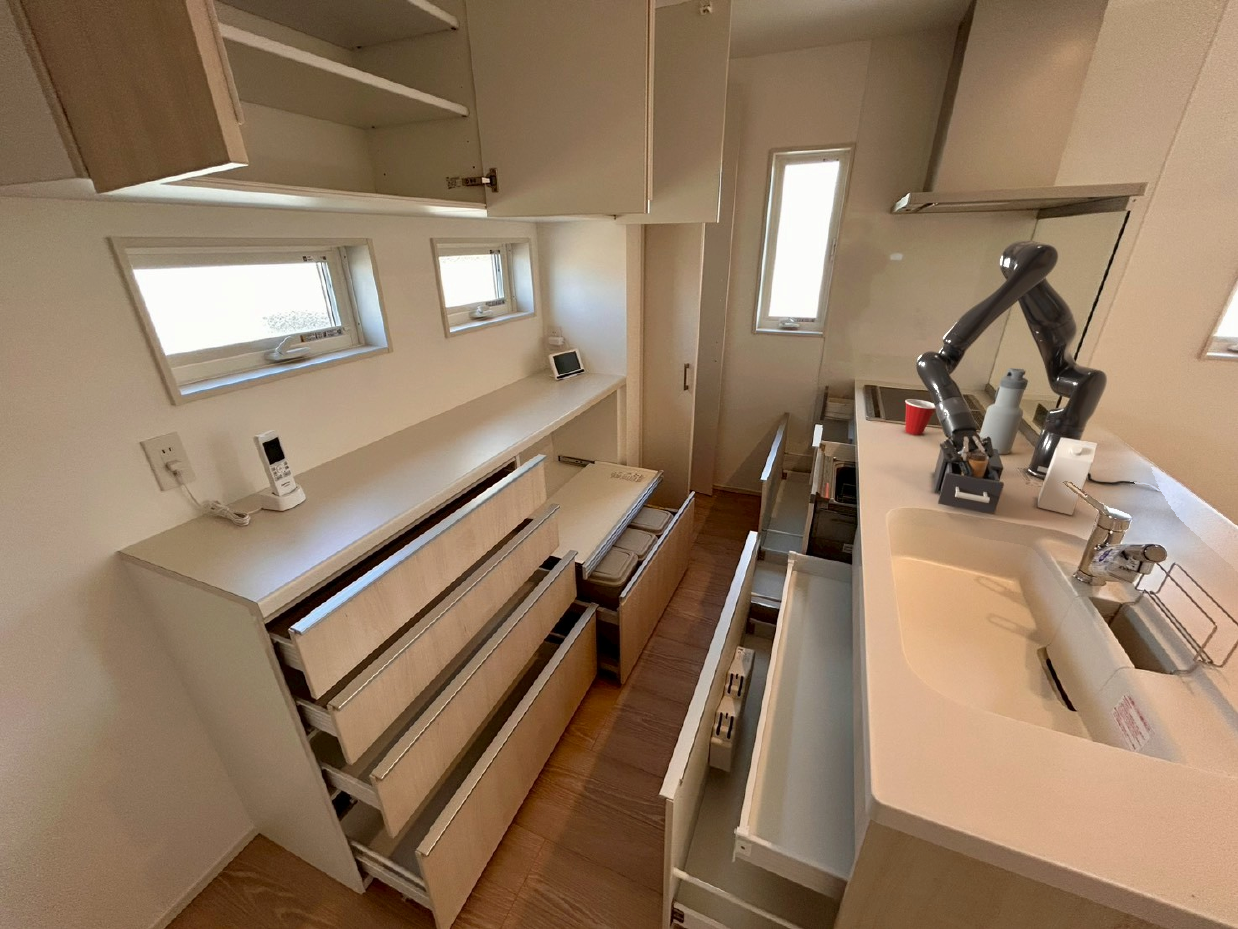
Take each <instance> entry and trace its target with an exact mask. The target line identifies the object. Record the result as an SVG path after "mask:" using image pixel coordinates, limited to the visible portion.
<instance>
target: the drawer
mask: <svg viewBox="0 0 1238 929" xmlns="http://www.w3.org/2000/svg"><path fill="white" fill-rule="evenodd" d="M961 473H962V470H961V468H960V465H959V464H957V463H951V462H946V465H945V468H944V472H943V476H942V479H941V483H940V485H941V493H940V494H939V496H938V501H937V504H938V505H942V506H948V507H954V508H957V509H964V510H968V511H974V512H978V513H983V514H989V515H995V513H996V510H997V506H998V503H999V500H1000V497H1001V495H1002V492H1003V488H1004V485H1005V483H1004V481H1001V480H1000V481H999V478H998V474H997V471H996V469H992V473H991V474H989V475H987V476H983V479H982V478H976V477H971V476H965V475H961Z"/></svg>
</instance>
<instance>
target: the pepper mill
mask: <svg viewBox="0 0 1238 929" xmlns="http://www.w3.org/2000/svg"><path fill="white" fill-rule="evenodd" d="M986 457H987V454H986V453H983V452H980V451H971V452H970V455H969V456H967V459H968V460H967V461H969V463H970V465H971V468H972V470H973V473H974V474H973V475H972V476H971V477H976V478H982V479H983V476H984V473H985V470H986V467H987V464H988V460H987V459H986ZM961 475H964V474H963V473H961Z"/></svg>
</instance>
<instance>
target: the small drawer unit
mask: <svg viewBox="0 0 1238 929" xmlns="http://www.w3.org/2000/svg"><path fill="white" fill-rule="evenodd" d="M975 451H978V448H977V449H976V450H975ZM993 453H994V456H993V457H991V458H989V459H988V461H989V463H990V466H991V468H992V469H996V471H997V474H998V478H999V481H1000V482H1001V477H1002V475H1003V470H1004V465H1003V462H1002V459H1001V457H1000V456H1001V455H1000V454H999V453H998V450H997V449H993ZM951 454H952V453H951ZM987 454H988V451H987ZM969 455H970V453H969V452H968V453H967V456H969ZM952 456H953V454H952ZM953 457H954V456H953ZM946 462H950V461H949V459H948V457H947V456H946V454H945V453H944V451H943V450H942V448H941V447H940V449H939V453H938V458H937V460H936V465H935V468H934V472H933V489H934V490H933V491H934V492H933V493H935V494H939V495H940V493H941V485H940V483H941V479H942V476H943V472H944V468H945V465H946ZM953 463H956V462H953Z"/></svg>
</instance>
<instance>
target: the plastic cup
mask: <svg viewBox="0 0 1238 929" xmlns="http://www.w3.org/2000/svg"><path fill="white" fill-rule="evenodd" d="M904 401H905V419H904V420H905V422H904V423H905V424H904V426H905V427H904V428H905V433H906V434H908V435H912V436H922V435H923V434H924V432H925V430H926V428H927V426H928V424H929V422H930V420H931V418H932V416H933V414H934V412H936V409H935V406H934V403H933V402H930V401H926V400H922V399H913V398H908V399H905V400H904Z"/></svg>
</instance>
